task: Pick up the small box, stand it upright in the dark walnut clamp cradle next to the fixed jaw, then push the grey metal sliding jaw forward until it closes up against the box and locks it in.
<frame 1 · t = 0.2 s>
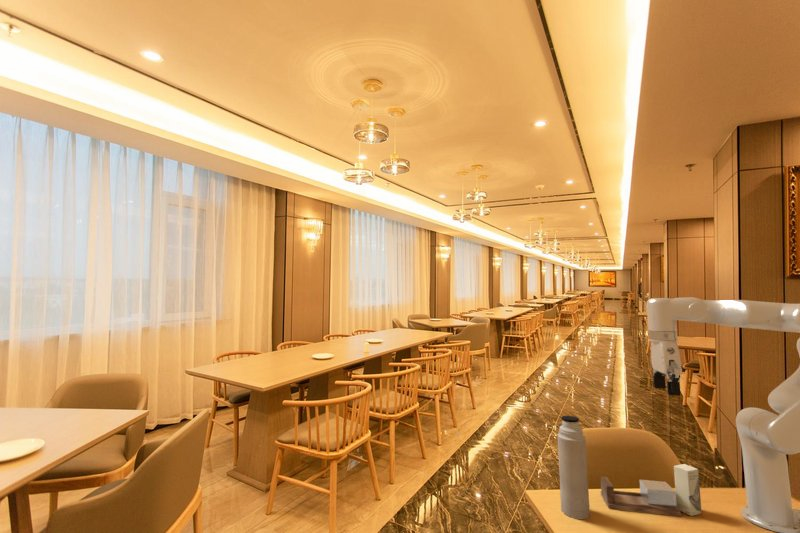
hand: (666, 391, 117), 36 cm above the table, tool pointing down, fingers open, 9 cm apart
sliding jaw: (657, 493, 116), point 4 cm above the table, slide at 0.0 cm
box: (689, 512, 113), on the table
clamp board: (638, 505, 117), on the table
thermos bottle: (575, 512, 113), on the table
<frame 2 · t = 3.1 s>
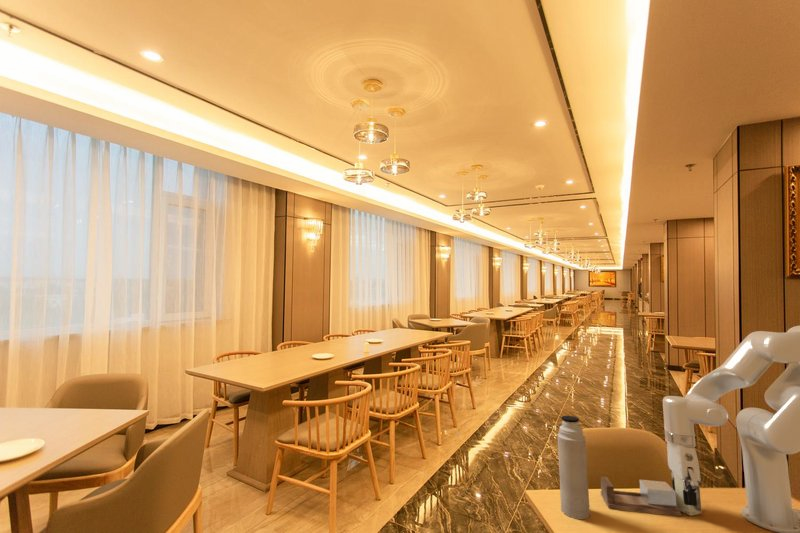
hand: (684, 498, 114), 4 cm above the table, tool pointing down, fingers closed on box, 6 cm apart
box: (689, 512, 113), on the table, touching gripper
everything else where it was.
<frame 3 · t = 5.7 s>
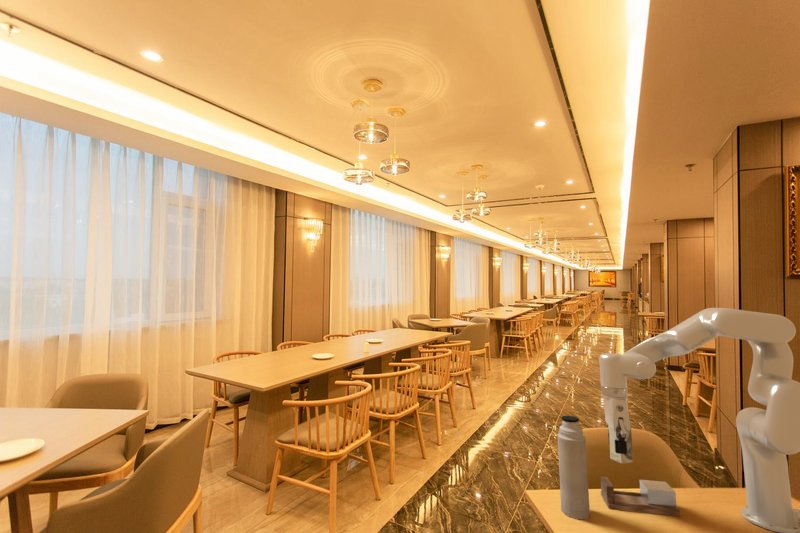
hand: (617, 448, 120), 17 cm above the table, tool pointing down, fingers closed on box, 5 cm apart
box: (621, 461, 119), point 13 cm above the table, touching gripper
everything else where it was.
when the fingers open (6 cm above the table, at t = 8.0 s): box stays where it is, resting on clamp board.
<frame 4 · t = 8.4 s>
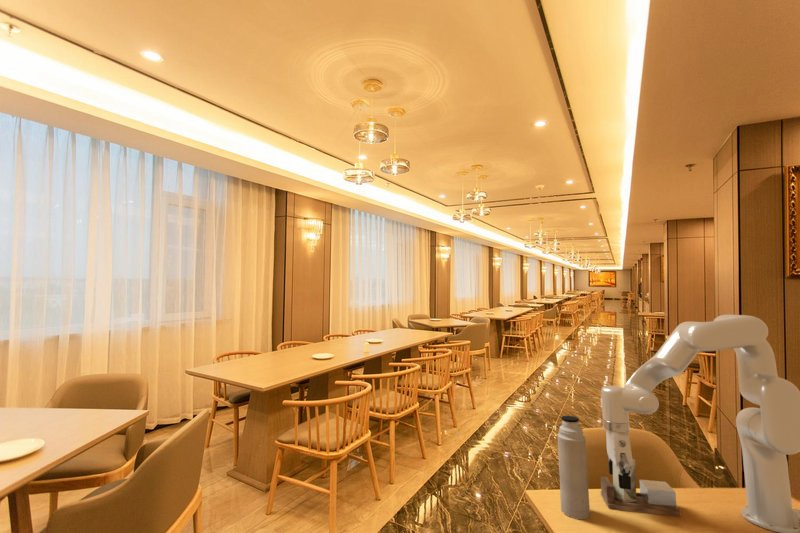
hand: (619, 481, 119), 7 cm above the table, tool pointing down, fingers open, 9 cm apart
box: (625, 499, 118), point 1 cm above the table, touching clamp board
everything else where it was.
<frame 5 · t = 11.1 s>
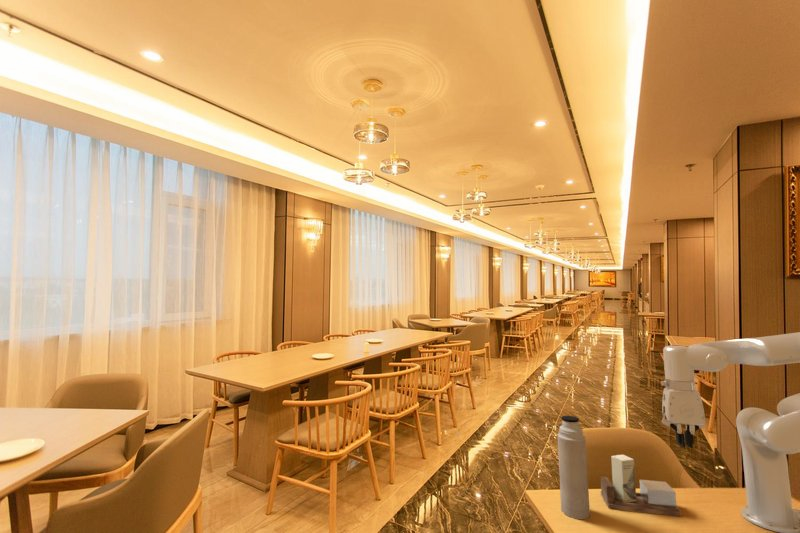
hand: (685, 445, 116), 19 cm above the table, tool pointing down, fingers closed
nothing on the table moved.
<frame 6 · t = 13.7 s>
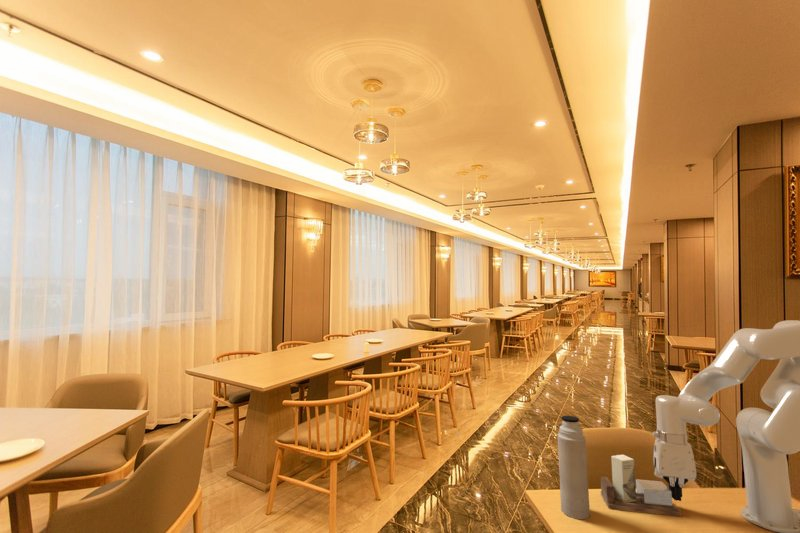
hand: (675, 498, 115), 3 cm above the table, tool pointing down, fingers closed
sliding jaw: (653, 493, 116), point 4 cm above the table, slide at 1.1 cm, touching gripper
everything else where it was.
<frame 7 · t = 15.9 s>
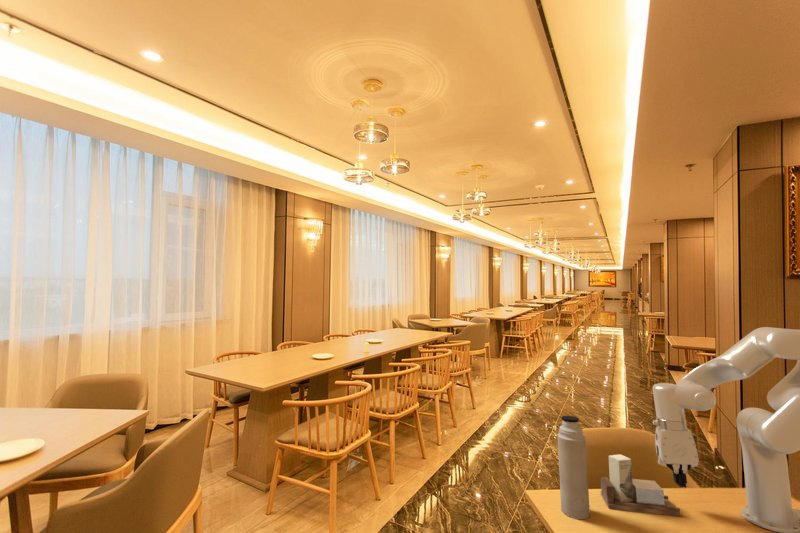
hand: (681, 485, 115), 7 cm above the table, tool pointing down, fingers closed
sliding jaw: (646, 492, 117), point 4 cm above the table, slide at 3.2 cm
everything else where it was.
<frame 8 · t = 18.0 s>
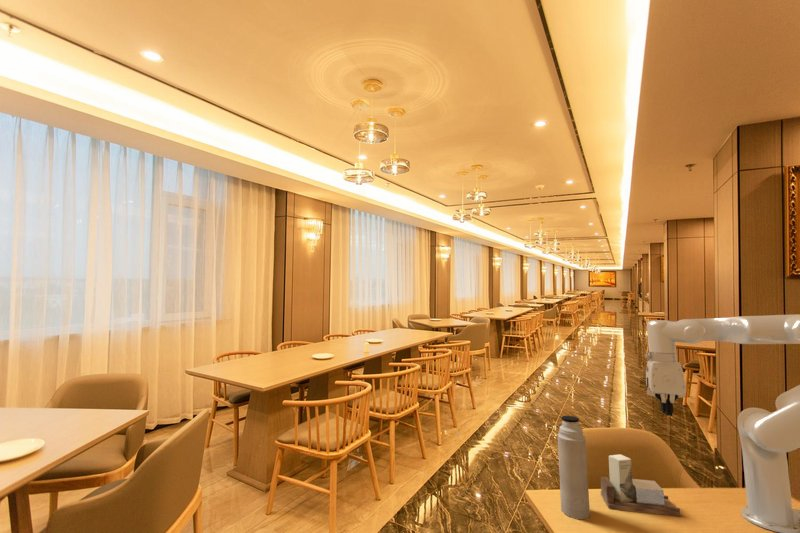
hand: (667, 414, 121), 27 cm above the table, tool pointing down, fingers closed
nothing on the table moved.
at the end: box inside the target area on the clamp board (0.5 cm from its centre), point 1.0 cm above the clamp board's base; box tilted 0°; sliding jaw slide at 3.2 cm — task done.
